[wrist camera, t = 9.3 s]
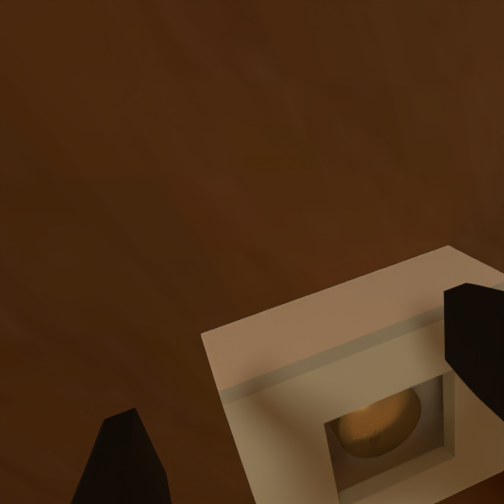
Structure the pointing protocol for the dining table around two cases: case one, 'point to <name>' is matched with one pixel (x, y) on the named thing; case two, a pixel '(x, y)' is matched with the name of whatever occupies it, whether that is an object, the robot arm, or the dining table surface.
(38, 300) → the dining table surface
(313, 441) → the beige square holder
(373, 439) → the gold rounded piece
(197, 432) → the dining table surface
